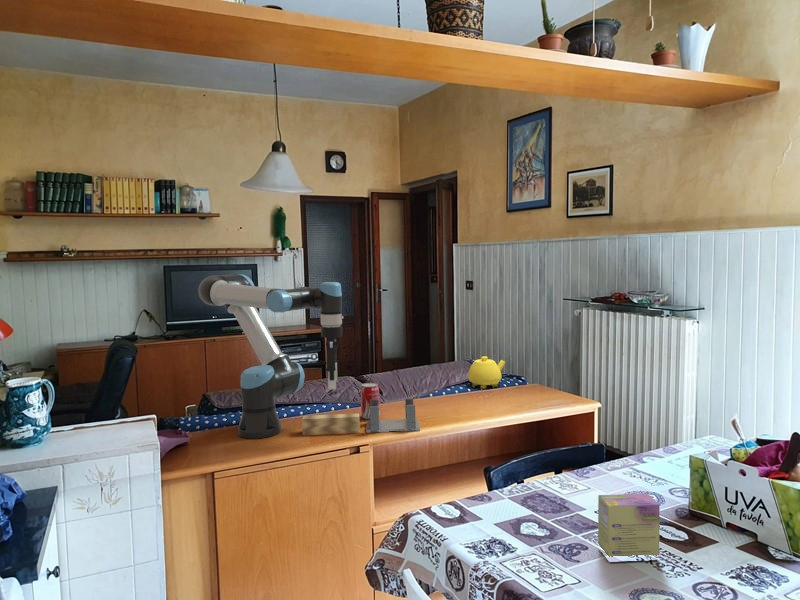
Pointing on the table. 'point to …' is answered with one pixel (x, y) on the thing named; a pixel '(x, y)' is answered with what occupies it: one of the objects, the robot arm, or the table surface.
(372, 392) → the soda can
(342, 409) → the table surface
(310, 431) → the rail
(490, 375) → the teapot
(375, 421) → the bracket mount
